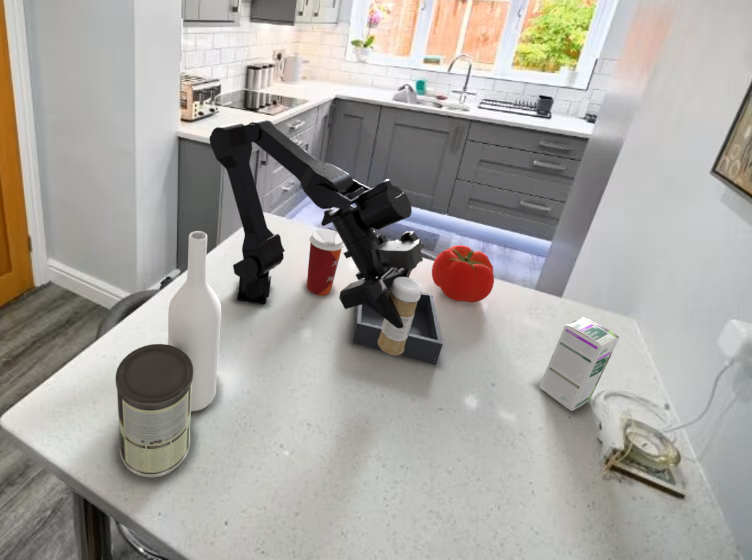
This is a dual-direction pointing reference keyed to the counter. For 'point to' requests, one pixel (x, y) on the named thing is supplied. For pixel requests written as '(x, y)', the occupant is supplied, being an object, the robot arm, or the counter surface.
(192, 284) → the bottle
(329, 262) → the paper cup
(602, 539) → the counter surface
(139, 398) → the coffee can
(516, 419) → the counter surface
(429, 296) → the bin
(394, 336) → the sprinkles bottle
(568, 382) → the syrup box
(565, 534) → the counter surface
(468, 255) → the tomato
